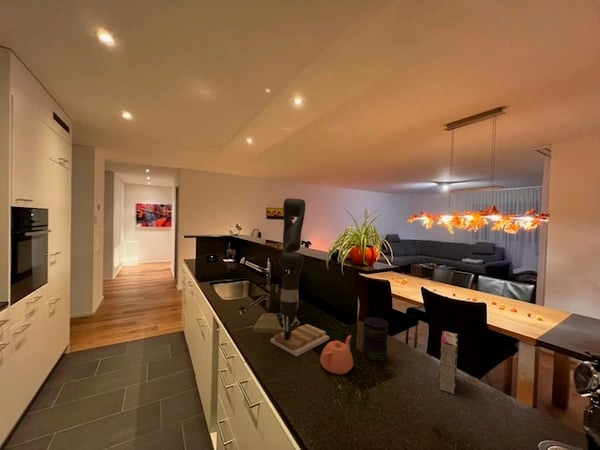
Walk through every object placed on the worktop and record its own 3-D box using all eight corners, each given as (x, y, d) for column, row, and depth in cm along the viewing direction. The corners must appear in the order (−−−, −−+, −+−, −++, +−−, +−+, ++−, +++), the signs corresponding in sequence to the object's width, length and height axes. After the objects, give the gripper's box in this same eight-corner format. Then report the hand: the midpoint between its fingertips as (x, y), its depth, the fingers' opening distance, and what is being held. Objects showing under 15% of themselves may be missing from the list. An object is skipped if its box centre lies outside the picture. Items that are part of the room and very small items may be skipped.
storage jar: (369, 349, 112) (371, 315, 112) (391, 358, 105) (392, 322, 105) (356, 356, 105) (358, 320, 105) (378, 367, 98) (381, 328, 98)
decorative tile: (252, 333, 123) (252, 325, 123) (262, 317, 143) (263, 311, 143) (290, 336, 121) (291, 329, 121) (296, 320, 141) (296, 314, 141)
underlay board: (303, 328, 130) (303, 325, 130) (329, 339, 119) (329, 336, 119) (270, 342, 114) (270, 338, 114) (296, 356, 103) (296, 352, 103)
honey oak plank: (296, 330, 123) (297, 327, 123) (316, 339, 115) (316, 336, 115) (273, 338, 112) (273, 335, 112) (293, 349, 104) (293, 345, 104)
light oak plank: (306, 326, 128) (306, 323, 128) (325, 334, 120) (325, 331, 120) (297, 330, 124) (297, 327, 124) (316, 339, 115) (317, 335, 115)
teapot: (310, 368, 95) (311, 342, 95) (337, 351, 109) (338, 329, 108) (337, 383, 87) (338, 355, 87) (363, 363, 100) (364, 339, 100)
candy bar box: (439, 373, 96) (442, 330, 95) (455, 378, 93) (458, 333, 93) (437, 389, 86) (440, 341, 86) (455, 395, 83) (458, 345, 83)
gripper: (306, 300, 108) (304, 341, 108) (285, 294, 117) (282, 331, 117) (294, 304, 103) (292, 347, 102) (272, 296, 111) (270, 336, 111)
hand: (287, 339), depth 110 cm, fingers closed
